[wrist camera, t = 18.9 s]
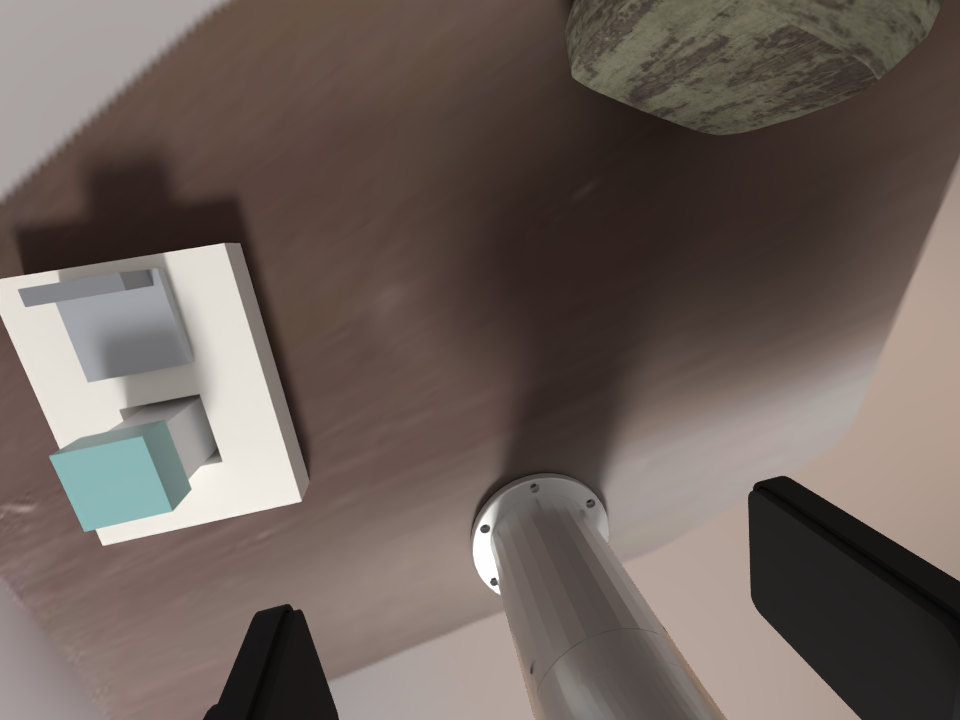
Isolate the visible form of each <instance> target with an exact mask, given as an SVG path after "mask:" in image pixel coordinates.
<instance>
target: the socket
mask: <svg viewBox="0 0 960 720" xmlns="http://www.w3.org/2000/svg"><path fill="white" fill-rule="evenodd" d="M155 268H164V271H165V274H166V277H167V280H168V283H169V286H170V289H171V292H172V295H173V298H174V301H175V304H176V306H177V309H178V312H179V315H180V318H181V321H182V324H183V327H184V330H185V333H186V336H187V339H188V342H189V345H190V348H191V351H192V354H193V357H194V360H195V361H194V362H192V363H190V364H186V365H180V366H175V367H170V368H164V369H159V370H153V371H148V372H143V373H137V374H132V375H127V376H121V377H116V378H111V379H105V380H100V381H94V382H89V383H88V382H87V379H86V377H85V374H84V372H83V369H82V367H81V364H80V362H79V360H78V357H77V355H76V352H75V350H74V347H73V345H72V342H71V340H70V338H69V335H68V333H67V330H66V328H65V325H64V323H63V320H62V318H61V315H60V313H59V311H58V308H57V306H56V303H55V302H54V303H48V304H42V305H36V306H31V307H25V306H24V303H23V301H22V299H21V296H20V294H19V292H18V289H22V288H28V287H34V286H40V285H46V284H52V283H59V282H65V281H71V280H77V279H83V278H89V277H95V276H101V275H107V274H114V273H120V272H129V271H139V270H149V269H155ZM0 315H1V317H2V319H3V322H4V324H5V326H6V328H7V331H8V333H9V335H10V337H11V340H12V342H13V344H14V346H15V349H16V351H17V353H18V355H19V358H20V360H21V362H22V365H23V367H24V369H25V371H26V374H27V376H28V378H29V380H30V383H31V385H32V387H33V389H34V392H35V394H36V396H37V398H38V401H39V403H40V405H41V407H42V410H43V412H44V414H45V416H46V419H47V421H48V423H49V425H50V428H51V430H52V432H53V434H54V437H55V439H56V441H57V443H58V446H59V448H60V449H62V448H64V447H65V446H67V445H69V444H70V443H72V442H74V441H75V440H77V439H79V438H80V437H85V436H90V435H95V434H99V433H104V432H107V431H109V430H110V429H112V428H113V427H115V426H116V425H118V424H120V423H121V422H123V421H124V420H126V419H128V418H129V417H131V416H132V415H134V414H136V413H137V412H139V411H140V410H142V409H144V408H145V407H147V404H150V403H155V402H160V401H165V400H170V399H176V398H181V397H186V396H191V395H196V394H200V397H201V400H202V402H203V405H204V408H205V411H206V414H207V417H208V420H209V423H210V426H211V429H212V432H213V434H214V437H215V440H216V443H217V446H218V448H217V449H216V450H215V451H214V452H213V453H212V454H211V456H210V457H209V458H208V459H207V460H206V461H205V462H204V463H203V464H202V465H201V466H200V467H199V469H198V470H197V471H196V472H195V473H194V474H193V475H192V476H191V477H190V478H189V479H188V481H189V483H190V486H191V489H192V490H191V491H190V492H189V493H188V494H187V496H186V497H185V498H184V499H183V500H182V501H181V502H180V504H179V505H178V506H177V507H176V508H175V509H174V511H172V512H168V513H164V514H159V515H155V516H151V517H146V518H142V519H138V520H133V521H129V522H125V523H120V524H116V525H112V526H107V527H103V528H99V529H96V531H97V533H98V536H99V538H100V540H101V542H102V545H103V546H104V545H109V544H113V543H118V542H122V541H127V540H131V539H136V538H140V537H145V536H149V535H154V534H158V533H163V532H167V531H171V530H176V529H180V528H185V527H189V526H194V525H198V524H203V523H207V522H212V521H216V520H221V519H225V518H230V517H234V516H239V515H243V514H248V513H252V512H257V511H261V510H266V509H270V508H275V507H279V506H284V505H288V504H293V503H297V502H302V500H303V497H304V495H305V492H306V490H307V487H308V485H309V482H310V481H309V478H308V474H307V471H306V468H305V464H304V461H303V457H302V454H301V450H300V447H299V444H298V440H297V437H296V433H295V430H294V426H293V423H292V420H291V416H290V413H289V409H288V406H287V402H286V399H285V395H284V392H283V389H282V385H281V382H280V378H279V375H278V371H277V368H276V365H275V361H274V358H273V354H272V351H271V347H270V344H269V341H268V337H267V334H266V330H265V327H264V323H263V320H262V317H261V313H260V310H259V306H258V303H257V299H256V296H255V293H254V289H253V286H252V282H251V279H250V275H249V272H248V269H247V265H246V262H245V258H244V255H243V251H242V248H241V245H240V243H222V244H216V245H210V246H203V247H197V248H191V249H185V250H179V251H172V252H166V253H160V254H154V255H147V256H141V257H135V258H129V259H123V260H116V261H110V262H104V263H98V264H92V265H85V266H79V267H73V268H67V269H61V270H54V271H48V272H42V273H36V274H29V275H23V276H17V277H11V278H5V279H0Z"/></svg>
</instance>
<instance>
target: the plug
mask: <svg viewBox="0 0 960 720" xmlns="http://www.w3.org/2000/svg"><path fill="white" fill-rule="evenodd" d="M217 448H218V446H217V443H216V440H215V437H214V434H213V432H212V429H211V426H210V423H209V420H208V417H207V414H206V411H205V408H204V405H203V402H202V400H201V397H200V394H196V395H191V396H186V397H181V398H176V399H170V400H165V401H161V402H156V403H151V404H150V405H148V406H147V407H145V408H144V409H142V410H140V411H139V412H137V413H136V414H134V415H132V416H131V417H129V418H128V419H126V420H124V421H123V422H121V423H120V424H118V425H116V426H115V427H113V428H112V429H110V430H109V431H107V432H104V433H99V434H95V435H90V436H85V437H80V438H79V439H77V440H75V441H74V442H72V443H70V444H69V445H67V446H65V447H64V448H62V449H60V450H58V451H57V452H55V453H53V454H52V455H50V456H49V457H50V459H51V461H52V463H53V466H54V468H55V470H56V472H57V474H58V476H59V478H60V480H61V483H62V485H63V487H64V489H65V491H66V493H67V495H68V497H69V500H70V502H71V504H72V506H73V508H74V510H75V512H76V515H77V517H78V519H79V521H80V523H81V525H82V527H83V529H84V532H86V531H90V530H94V529H99V528H103V527H107V526H112V525H116V524H120V523H125V522H129V521H133V520H138V519H142V518H146V517H151V516H155V515H159V514H164V513H168V512H172V511H174V509H175V508H176V507H177V506H178V505H179V504H180V502H181V501H182V500H183V499H184V498H185V497H186V496H187V494H188V493H189V492H190V491H191V490H192V489H191V486H190V483H189V481H188V479H189V478H190V477H191V476H192V475H193V474H194V473H195V472H196V471H197V470H198V469H199V467H200V466H201V465H202V464H203V463H204V462H205V461H206V460H207V459H208V458H209V457H210V456H211V454H212V453H213V452H214V451H215V450H216V449H217Z"/></svg>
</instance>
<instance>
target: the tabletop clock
mask: <svg viewBox="0 0 960 720" xmlns="http://www.w3.org/2000/svg"><path fill="white" fill-rule="evenodd" d="M942 2H943V0H574V1H573V4H572V8H571V11H570V15H569V18H568V22H567V25H566V29H565V41H566V48H567V54H568V59H569V64H570V69H571V74H572V77H573V78H574V79H576V80H577V81H579V82H580V83H581V84H583V85H585V86H587V87H588V88H590V89H592V90H594V91H597V92H599V93H601V94H604V95H606V96H608V97H611V98H613V99H615V100H618V101H620V102H622V103H625V104H627V105H629V106H632V107H634V108H636V109H639V110H641V111H644V112H646V113H649V114H652V115H654V116H657V117H660V118H663V119H665V120H668V121H671V122H673V123H676V124H679V125H682V126H684V127H687V128H690V129H693V130H696V131H700V132H704V133H709V134H713V135H730V134H737V133H743V132H748V131H752V130H756V129H759V128H763V127H766V126H770V125H774V124H777V123H781V122H784V121H788V120H791V119H795V118H797V117H800V116H803V115H806V114H809V113H811V112H814V111H817V110H820V109H822V108H825V107H828V106H831V105H833V104H836V103H839V102H842V101H844V100H846V99H848V98H850V97H853V96H855V95H857V94H859V93H861V92H863V91H864V90H866V89H867V88H869V87H870V86H871V85H873V84H874V83H875V82H877V81H878V80H879V79H880V78H882V77H883V76H884V75H885V74H886V73H887V72H888V71H889V70H890V69H892V68H893V67H894V66H895V65H896V64H897V63H898V62H899V61H900V60H902V59H903V58H904V57H905V56H906V55H907V54H908V53H909V52H910V51H912V50H913V49H914V48H915V47H916V46H917V45H918V44H919V43H920V42H922V41H923V40H924V39H925V38H926V37H927V36H928V35H929V33H930V30H931V28H932V26H933V23H934V21H935V19H936V16H937V14H938V12H939V9H940V7H941V5H942Z"/></svg>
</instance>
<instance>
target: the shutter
mask: <svg viewBox="0 0 960 720" xmlns="http://www.w3.org/2000/svg"><path fill="white" fill-rule="evenodd" d="M18 292H19V294H20V296H21V299H22V301H23V303H24V306H25V307H31V306H36V305H42V304H48V303H54V302H55V303H56V306H57V308H58V311H59V313H60V315H61V318H62V320H63V323H64V325H65V328H66V330H67V333H68V335H69V338H70V340H71V342H72V345H73V347H74V350H75V352H76V355H77V357H78V360H79V362H80V364H81V367H82V369H83V372H84V374H85V377H86V379H87V382H88V383H89V382H94V381H100V380H105V379H111V378H116V377H121V376H127V375H132V374H137V373H143V372H148V371H153V370H159V369H164V368H170V367H175V366H180V365H186V364H190V363H192V362H194V361H195V360H194V357H193V354H192V351H191V348H190V345H189V342H188V339H187V336H186V333H185V330H184V327H183V324H182V321H181V318H180V315H179V312H178V309H177V306H176V304H175V301H174V298H173V295H172V292H171V289H170V286H169V283H168V280H167V277H166V274H165V271H164V268H155V269H149V270H139V271H129V272H120V273H114V274H107V275H101V276H95V277H89V278H83V279H77V280H71V281H65V282H59V283H52V284H46V285H40V286H34V287H28V288H22V289H18Z"/></svg>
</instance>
